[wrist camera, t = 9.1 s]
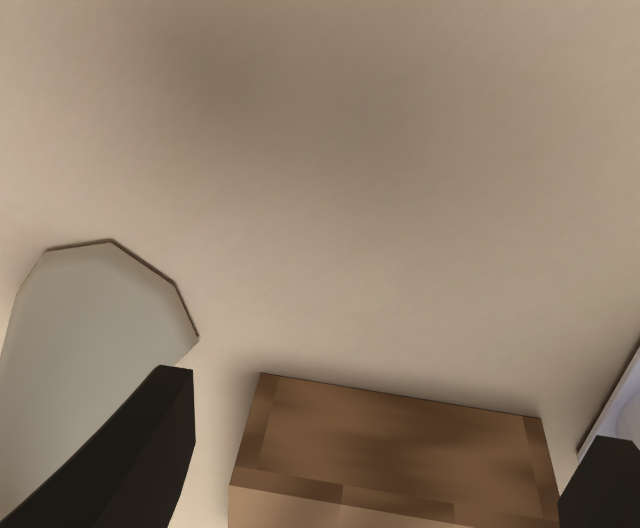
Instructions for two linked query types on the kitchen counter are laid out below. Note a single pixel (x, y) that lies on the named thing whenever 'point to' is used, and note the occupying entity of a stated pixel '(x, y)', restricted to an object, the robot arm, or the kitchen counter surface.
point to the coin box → (386, 463)
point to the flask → (78, 356)
